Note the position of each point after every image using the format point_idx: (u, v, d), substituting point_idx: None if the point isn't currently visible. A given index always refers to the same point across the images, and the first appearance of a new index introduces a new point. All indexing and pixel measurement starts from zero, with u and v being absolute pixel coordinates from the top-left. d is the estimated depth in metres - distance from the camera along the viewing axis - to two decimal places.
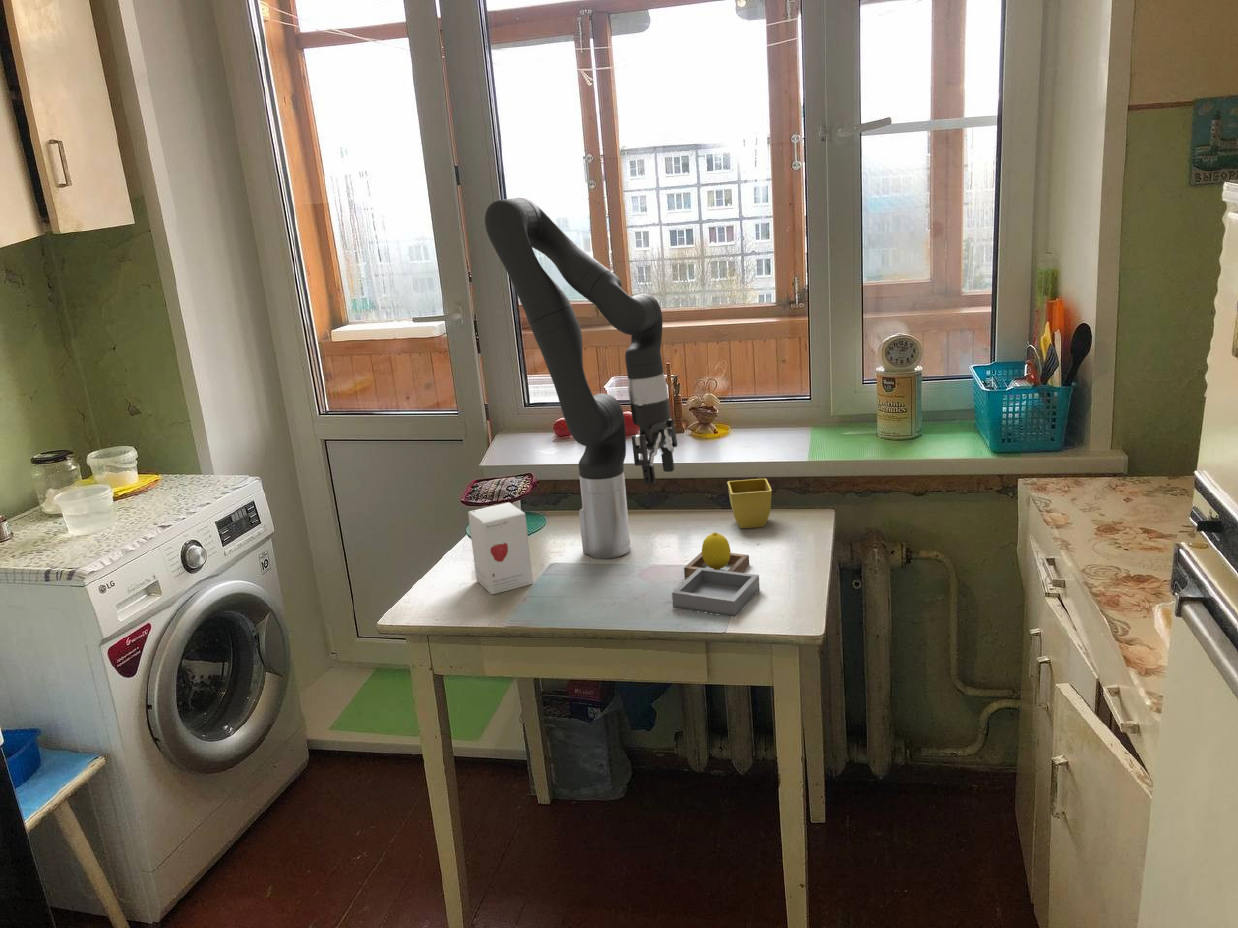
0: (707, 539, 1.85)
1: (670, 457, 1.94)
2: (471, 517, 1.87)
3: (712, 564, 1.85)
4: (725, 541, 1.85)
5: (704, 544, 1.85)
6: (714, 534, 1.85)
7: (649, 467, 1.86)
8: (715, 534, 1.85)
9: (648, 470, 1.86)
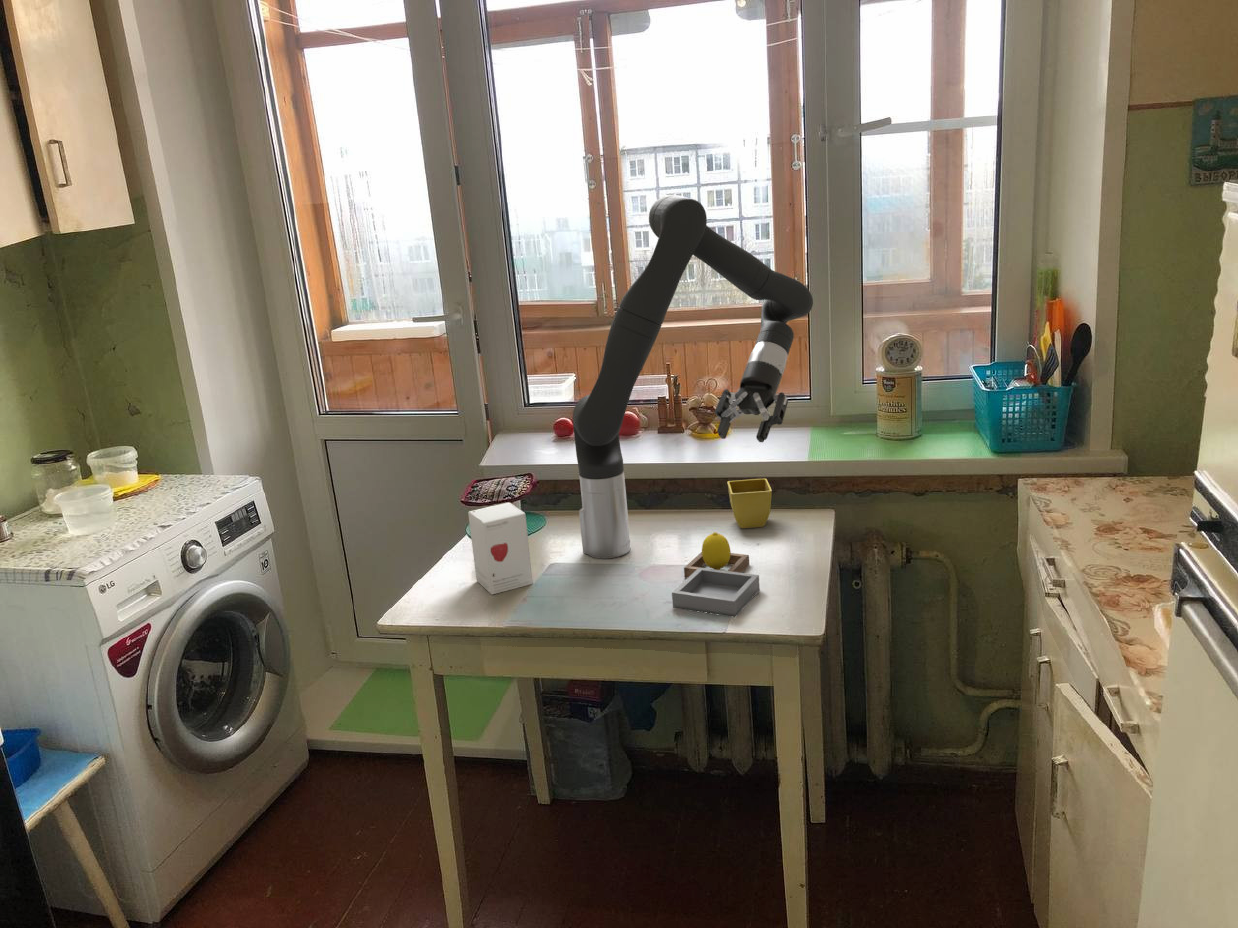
0: (707, 539, 1.85)
1: (729, 426, 1.94)
2: (471, 517, 1.87)
3: (712, 564, 1.85)
4: (725, 541, 1.85)
5: (704, 544, 1.85)
6: (714, 534, 1.85)
7: None
8: (715, 534, 1.85)
9: (769, 428, 1.88)
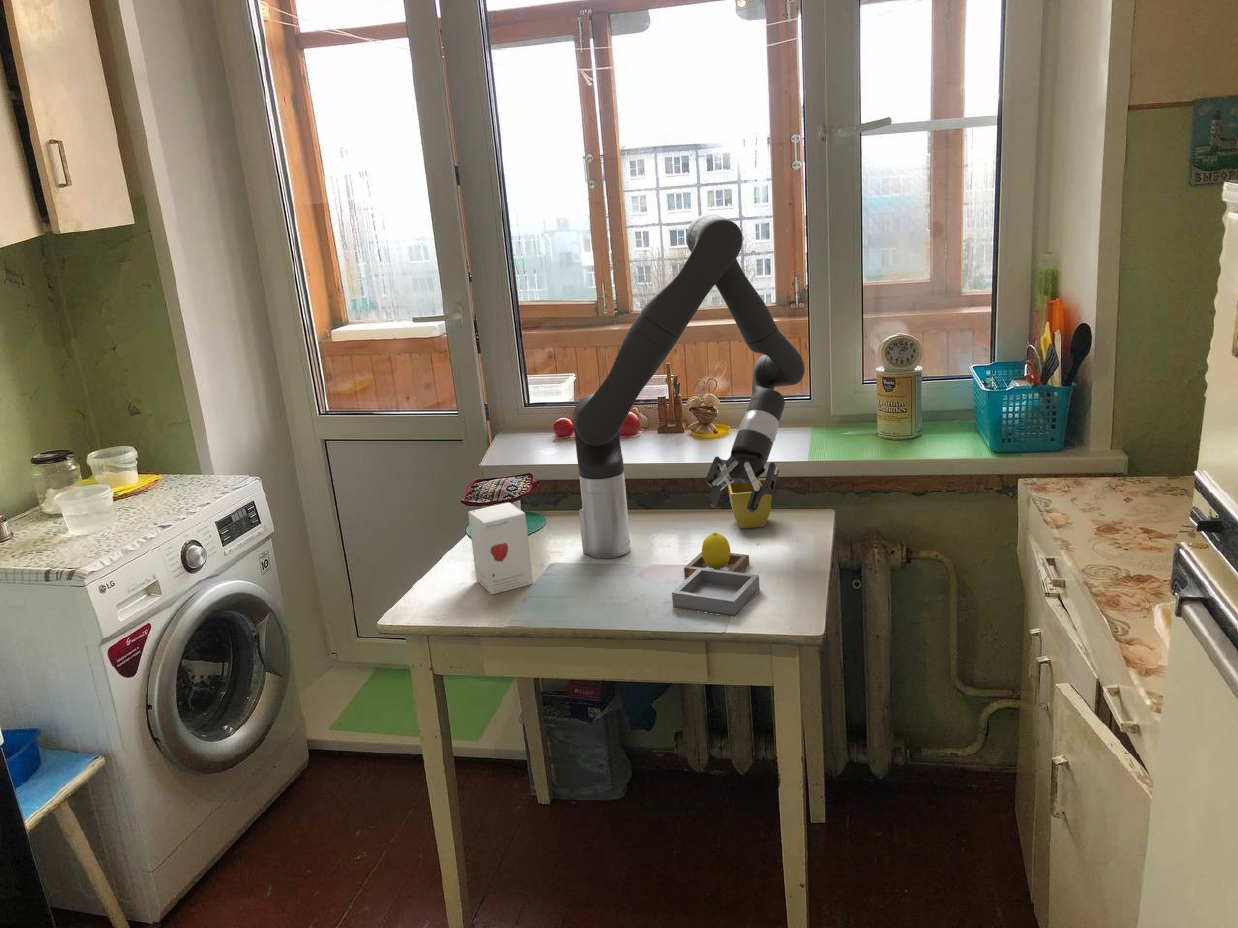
0: (707, 539, 1.85)
1: (719, 494, 1.94)
2: (471, 517, 1.87)
3: (712, 564, 1.85)
4: (725, 541, 1.85)
5: (704, 544, 1.85)
6: (714, 534, 1.85)
7: None
8: (715, 534, 1.85)
9: (760, 498, 1.88)
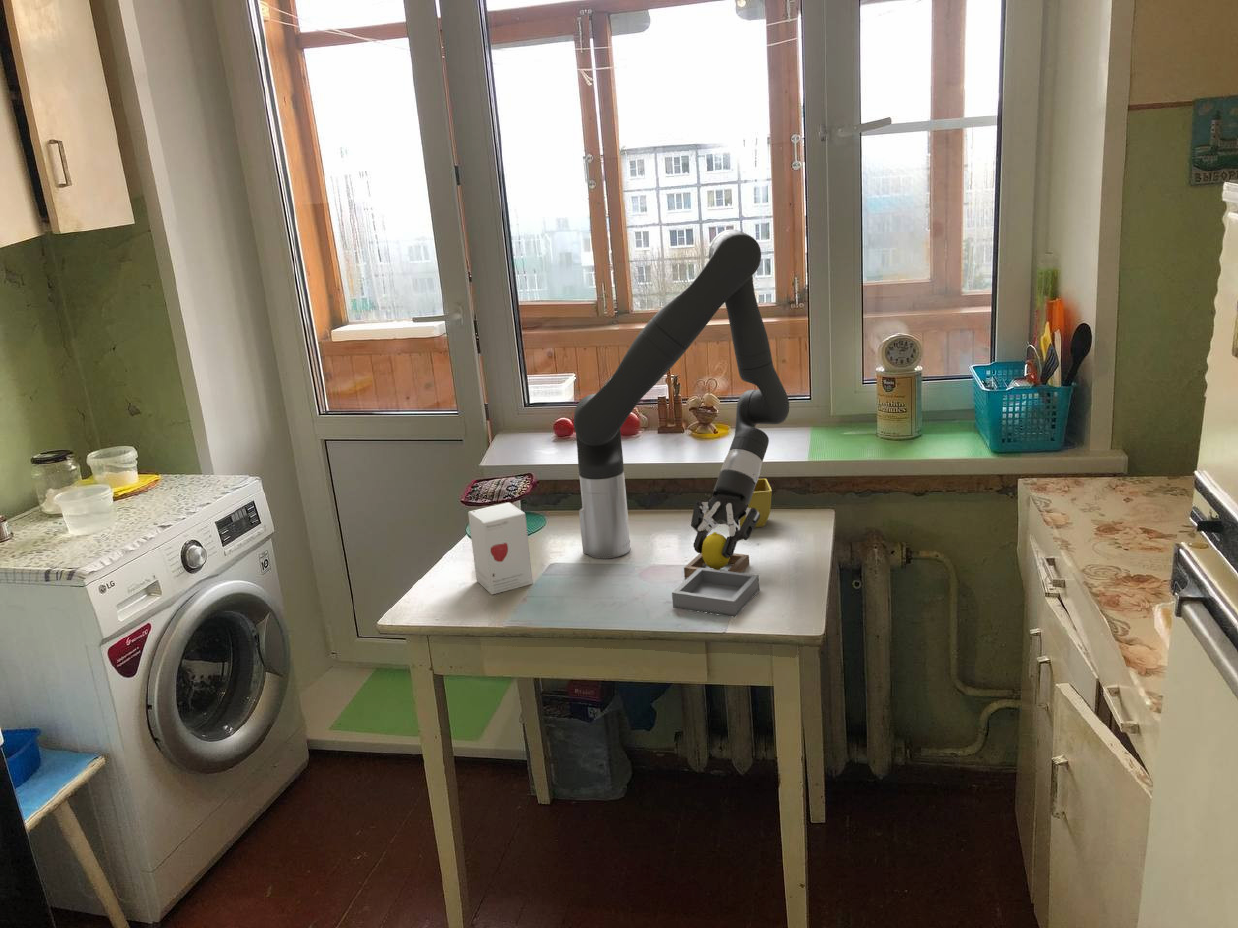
0: (707, 539, 1.85)
1: None
2: (471, 517, 1.87)
3: (711, 564, 1.85)
4: (725, 541, 1.85)
5: (704, 544, 1.85)
6: (714, 534, 1.85)
7: None
8: (715, 534, 1.85)
9: (735, 543, 1.84)
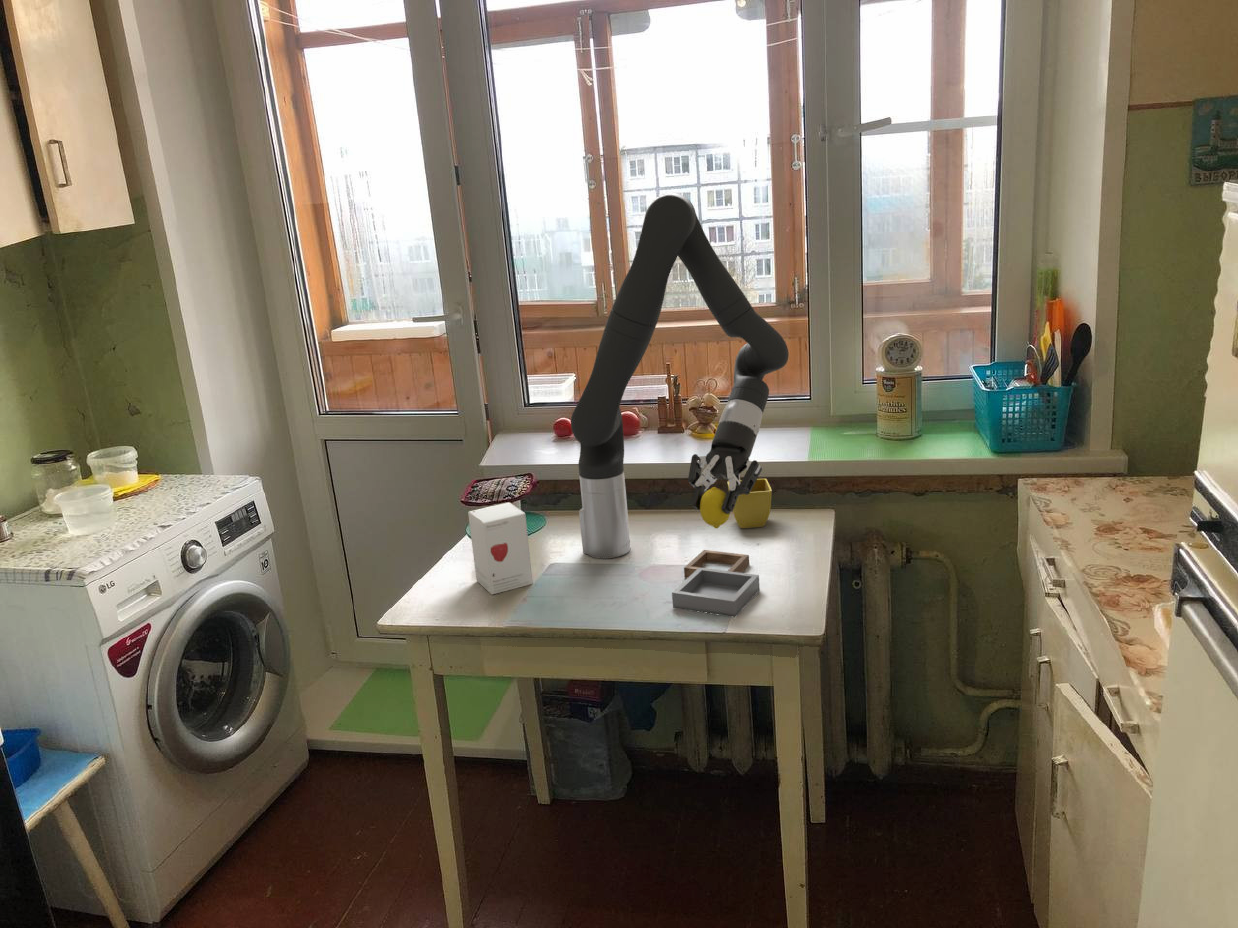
0: (706, 494, 1.74)
1: None
2: (471, 517, 1.87)
3: (711, 521, 1.74)
4: (725, 496, 1.74)
5: (702, 499, 1.74)
6: (713, 489, 1.74)
7: None
8: (714, 489, 1.74)
9: (736, 498, 1.73)
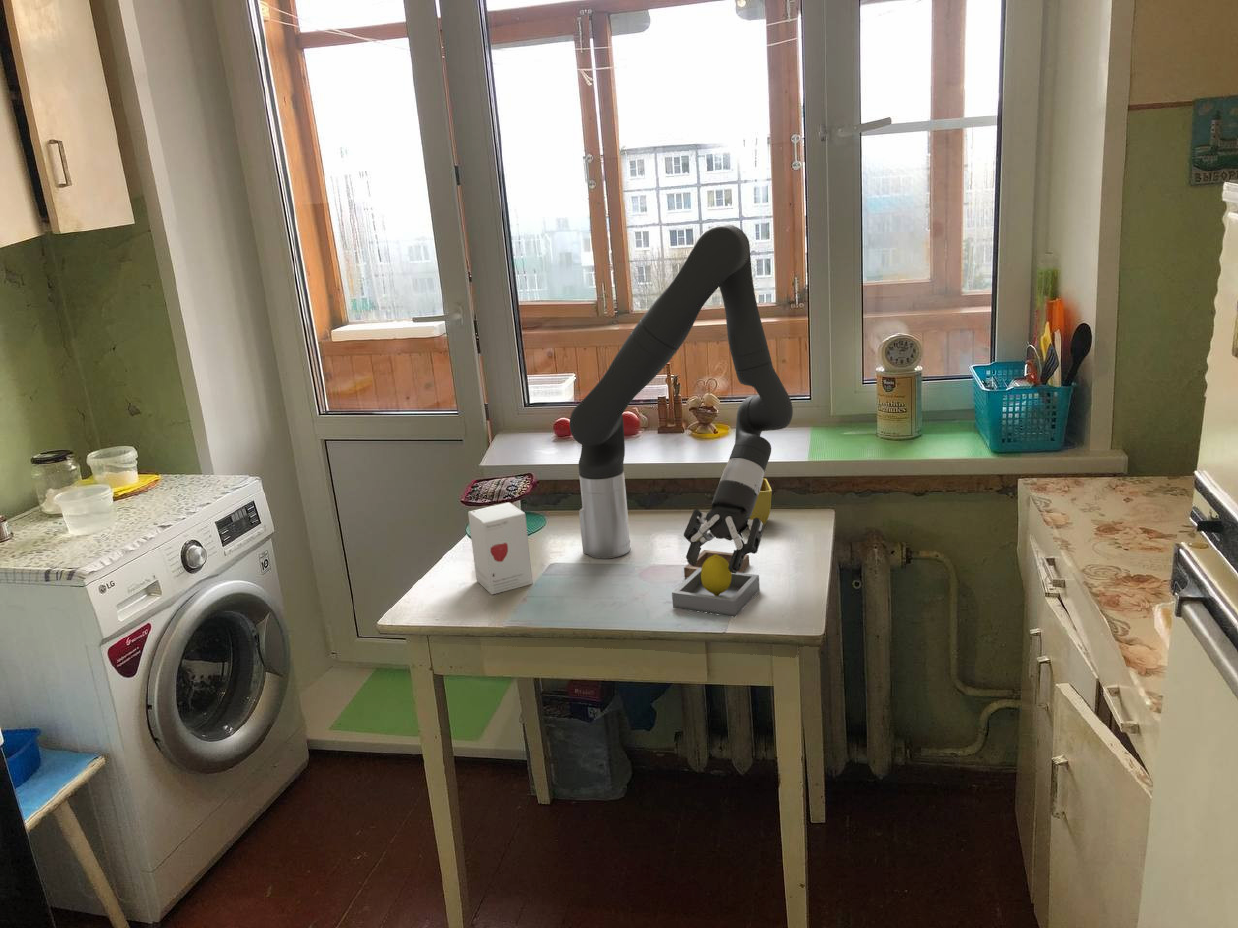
0: (707, 561, 1.73)
1: (699, 551, 1.76)
2: (471, 517, 1.87)
3: (711, 588, 1.73)
4: (726, 564, 1.73)
5: (703, 567, 1.73)
6: (714, 556, 1.73)
7: None
8: (715, 556, 1.73)
9: (743, 558, 1.71)
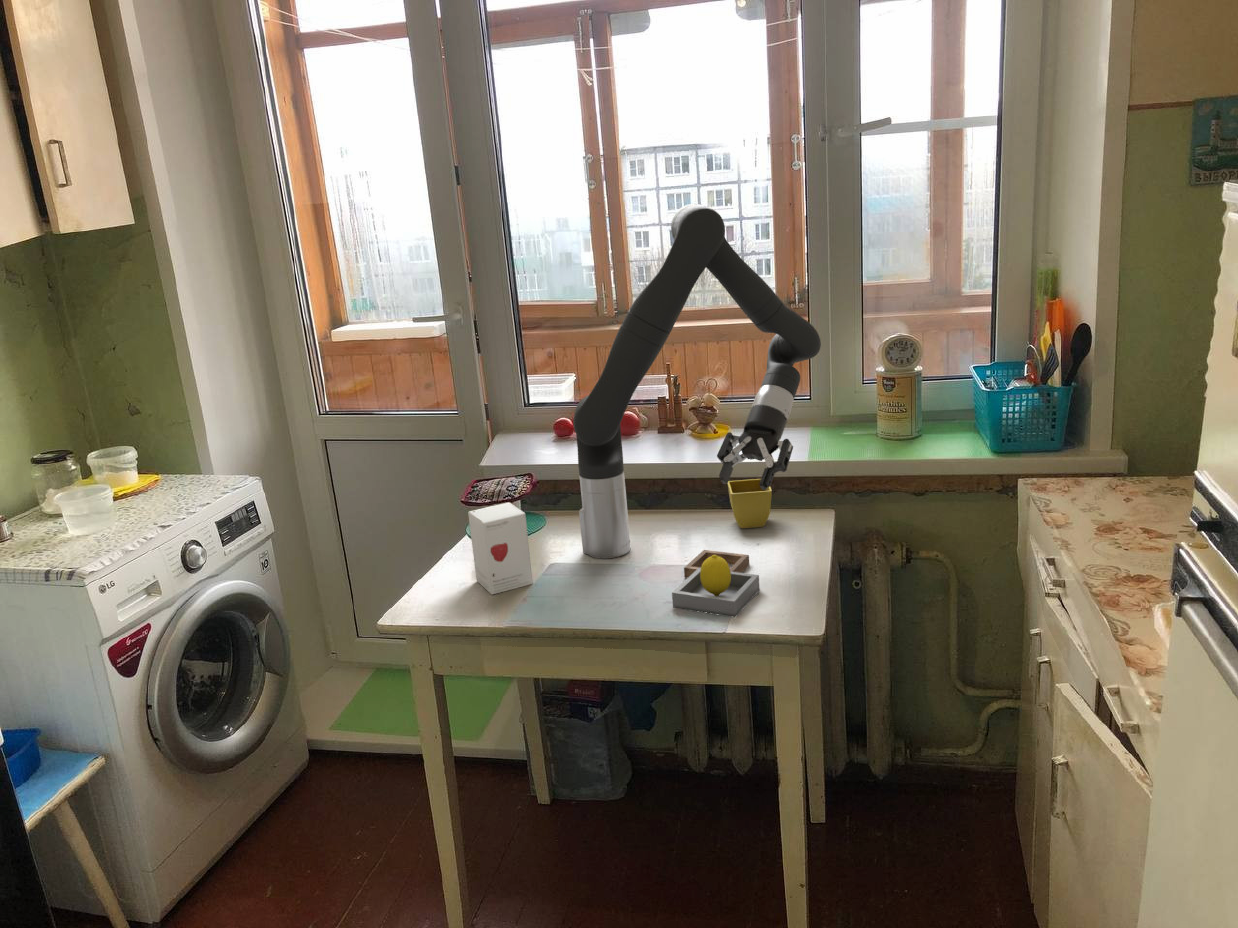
0: (706, 562, 1.73)
1: (731, 471, 1.88)
2: (471, 517, 1.87)
3: (711, 589, 1.73)
4: (725, 564, 1.73)
5: (703, 567, 1.73)
6: (713, 557, 1.73)
7: None
8: (714, 557, 1.73)
9: (773, 475, 1.83)
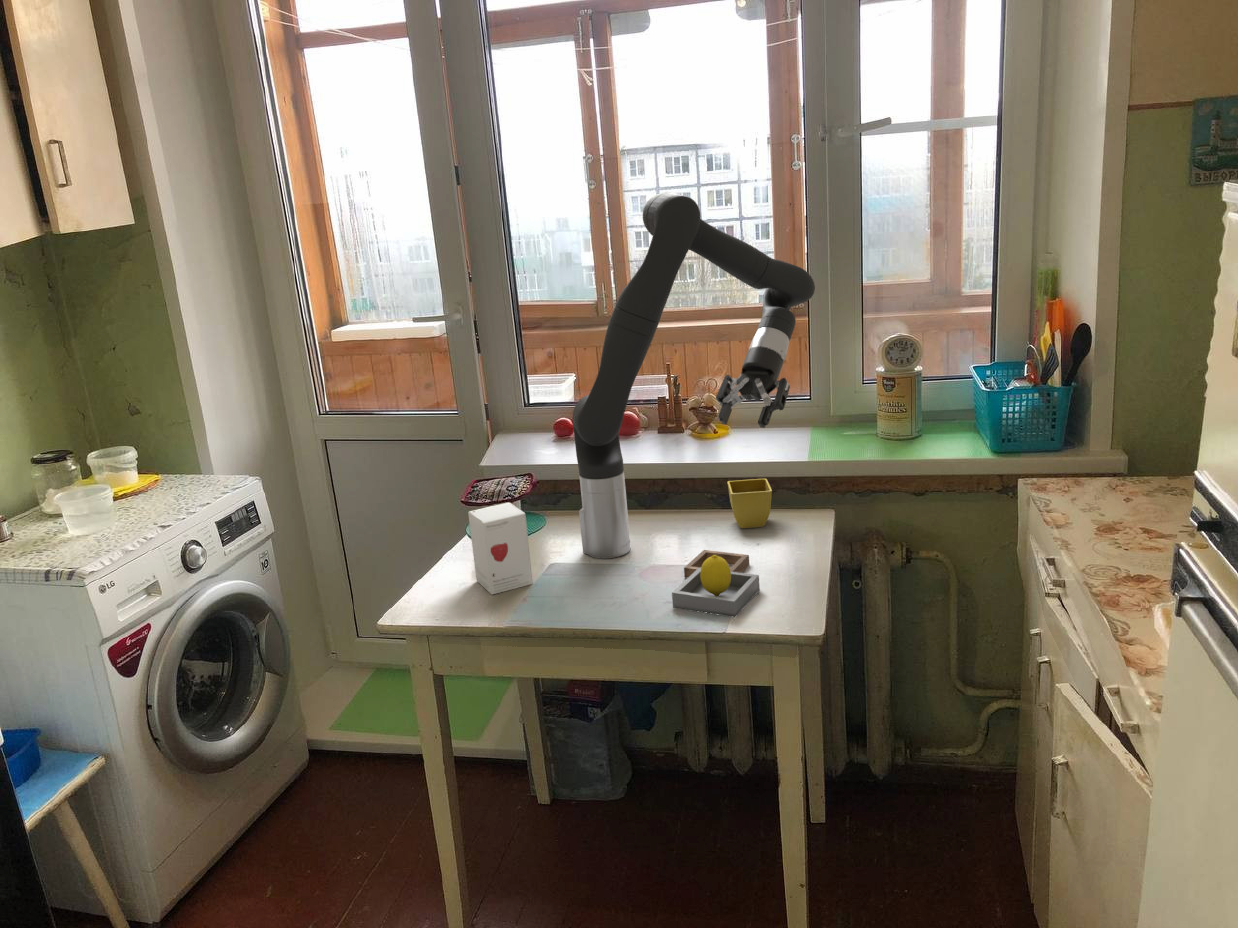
0: (706, 562, 1.73)
1: (730, 412, 1.93)
2: (471, 517, 1.87)
3: (711, 589, 1.73)
4: (725, 564, 1.73)
5: (703, 567, 1.73)
6: (714, 557, 1.73)
7: None
8: (715, 557, 1.73)
9: (771, 414, 1.88)
